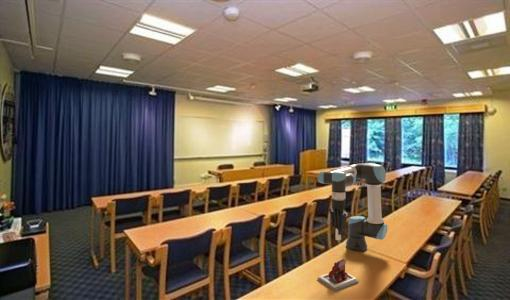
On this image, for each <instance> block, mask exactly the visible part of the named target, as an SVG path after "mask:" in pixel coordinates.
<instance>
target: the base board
mask: <svg viewBox="0 0 510 300" xmlns="http://www.w3.org/2000/svg"><path fill="white" fill-rule="evenodd" d="M346 273H347V274H348V277H347V279H346V280H344V279H342V281H341V282H340V283H339V282H337V281H336V279H335V280H332V279H331V278H329V276H328V275H329V273H326V274H321V275H320V276H318V277H317V280H318V282H319V281H320V283H322V284H324V285H325V286H327V287H328V288H330V289H331V290H333V291H335V292H337V291H340V290H342V289H344V288H345V289H346V288H348V287H351V286H353V285H355V284H359V280H358V279H357V278H356V277H355V276H353V275H351V274H350V273H348V272H346Z"/></svg>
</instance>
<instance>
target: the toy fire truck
mask: <svg viewBox="0 0 510 300" xmlns="http://www.w3.org/2000/svg"><path fill="white" fill-rule="evenodd" d="M346 261H347V260H346V259H344V258H342V259H340V260H338V261H337V262H334V263H333V265H332V267H331V270H330V271H329V275H328V276H329V278H331V279H332V280H335V279H336V281H337V282H339V283H340V282H341V281H342V279H344V280H346V279H347V277H348V274H349V273H348V272H346V263H347V262H346ZM347 273H348V274H347Z"/></svg>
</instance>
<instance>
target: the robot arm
mask: <svg viewBox="0 0 510 300" xmlns="http://www.w3.org/2000/svg"><path fill="white" fill-rule="evenodd" d="M386 179H387V172H386V169H385V167H384V166H383V165H382V164H376V163H356V164H351V165H347V166H345V167H343V168H339V169H336V170H335V169H334V170H330V171H320V172H319V173H318V174H317V181H318V182H319V183H320V184H323V185H324V184H325V185H331V206H332V207H331V208H328V211H329V214H330V215H329V216H330V220H331V226H332V227H334V233H335V241H341V240H342V234H343V233H342V231H343V229H345V228H346V222H347V218H348V216H349V212H346V208H345V207H346V199H347V198H346V188H347V187H351V186H353V185H355V184H356V182H357V180H361V181H362V180H363V181H364V184H365V185H366V186H367V187H366V188H367V212H368V215H367V216H368V217H367V218H366V217H365V216H361V215H356V216H355V215H353V216H351V217H349V218H348V236H347V239H346V242H345V247H346V248H347V249H349V250H351V251H355V252H365V251H367V250H368V244H367V241H366V237H368V238H371V239H374V240H380V241H382V240H384V239H385V238H386V236H387V233H388V228H389V227H388V224H387V223H385V220H384V218H382V191H381V188H382V187H381V186H382V185H383V183H385V182H386Z"/></svg>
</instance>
